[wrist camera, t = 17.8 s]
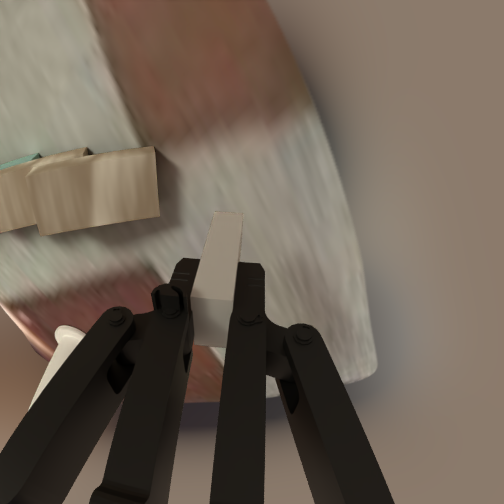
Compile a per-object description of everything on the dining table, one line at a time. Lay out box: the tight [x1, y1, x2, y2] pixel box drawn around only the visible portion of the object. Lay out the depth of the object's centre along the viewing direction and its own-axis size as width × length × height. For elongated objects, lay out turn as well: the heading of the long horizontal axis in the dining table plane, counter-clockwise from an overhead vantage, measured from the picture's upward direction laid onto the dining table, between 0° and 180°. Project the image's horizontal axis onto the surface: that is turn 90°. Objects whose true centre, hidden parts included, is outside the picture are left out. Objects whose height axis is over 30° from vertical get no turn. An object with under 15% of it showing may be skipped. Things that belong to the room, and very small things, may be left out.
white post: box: [28, 325, 86, 411], centre depth 26 cm, size 7×7×25 cm
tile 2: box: [0, 147, 88, 233], centre depth 20 cm, size 2×5×10 cm
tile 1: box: [25, 146, 160, 236], centre depth 20 cm, size 2×5×10 cm
